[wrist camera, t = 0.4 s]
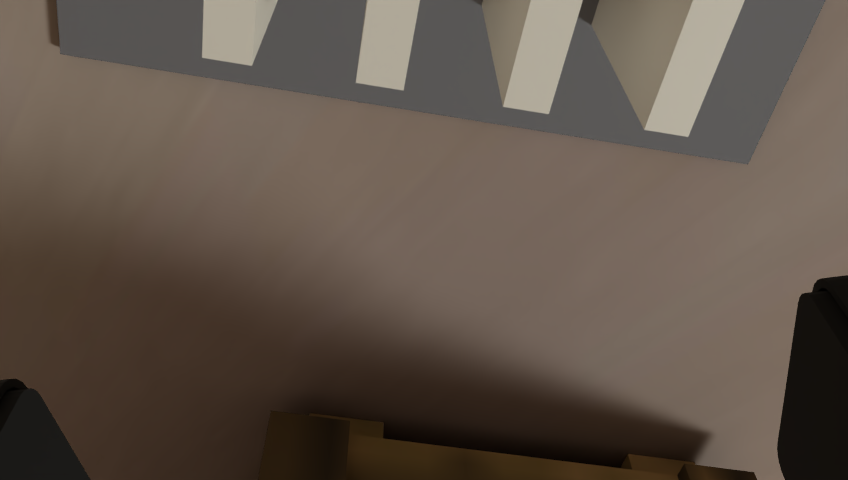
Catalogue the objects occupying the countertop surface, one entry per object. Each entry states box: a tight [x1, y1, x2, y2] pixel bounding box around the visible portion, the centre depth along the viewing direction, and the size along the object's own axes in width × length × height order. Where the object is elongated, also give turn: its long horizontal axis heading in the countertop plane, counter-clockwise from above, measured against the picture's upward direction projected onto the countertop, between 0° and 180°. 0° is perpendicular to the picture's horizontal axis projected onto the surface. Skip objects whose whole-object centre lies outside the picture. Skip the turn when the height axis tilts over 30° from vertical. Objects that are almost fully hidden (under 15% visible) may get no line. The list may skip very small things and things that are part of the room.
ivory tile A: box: [592, 0, 745, 137], centre depth 31 cm, size 5×2×10 cm, turn 170°
